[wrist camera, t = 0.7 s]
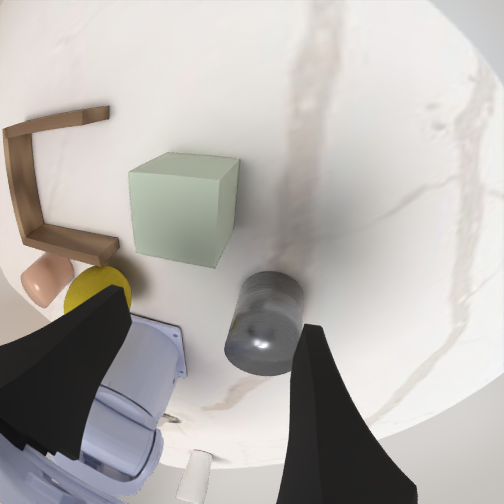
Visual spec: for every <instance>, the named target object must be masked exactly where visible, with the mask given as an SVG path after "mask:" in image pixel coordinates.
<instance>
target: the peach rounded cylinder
mask: <svg viewBox="0 0 504 504" xmlns="http://www.w3.org/2000/svg"><path fill="white" fill-rule="evenodd" d="M73 278H74V269H73V266H72V264H71V262H70V260H69V258H66V257H62V256H59V255H56V254H52V253H49V252H45V253H44V254H43V255H42V256H41V257H40V258H39V259H37V260H36V261H35V262H34V263H33V264H32V265H31V266H30V267H29V268H28V269H26V270H25V271H24V272H23V273H22V274H21V283H22V285H23V288H24V290H25V291H26V293H27V294H28V296H29V297H30V298H31V299H32V301H33V302H35V303H36V304H37V305H38V306H40V307H42V308H47V307H48V306H49V304H50V303H51V302H52V301H53V300H54V299H55V298H56V296H57V295H58V294H59V293H60V292H61V291H62V290H63V289H64V288H65V287H66V286H67V284H68V283H69V282H70V281H71V280H72V279H73Z"/></svg>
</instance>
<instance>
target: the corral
mask: <svg viewBox="0 0 504 504" xmlns="http://www.w3.org/2000/svg"><path fill="white" fill-rule="evenodd" d="M106 119H109V106H105V107H97V108H89V109H83V110H77V111H71V112H65V113H60V114H55V115H50V116H46V117H42V118H37V119H33V120H29V121H26V122H22V123H19V124H16V125H13V126H10V127H7V128H4V129H3V144H4V154H5V163H6V170H7V177H8V183H9V189H10V194H11V199H12V204H13V208H14V213H15V217H16V221H17V225H18V228H19V232H20V235H21V239H22V242H23V245H26V246H29V247H32V248H36V249H39V250H42V251H45V252H49V253H52V254H56V255H59V256H62V257H66V258H69V259H73V260H77V261H80V262H84V263H87V264H91V265H95V266H99V267H101V266H102V265H103V264H104V263H105V262H106V261H107V260H108V259H109V258H110V257H111V256H112V255H113V254H114V253H115V252H116V251H117V250H118V249H119V242H118V238H115V237H110V236H105V235H100V234H95V233H89V232H84V231H79V230H74V229H69V228H64V227H59V226H54V225H49V224H44V221H43V217H42V212H41V207H40V202H39V197H38V192H37V186H36V179H35V172H34V164H33V155H32V143H31V133H34V132H39V131H45V130H51V129H57V128H64V127H72V126H80V125H85V124H89V123H93V122H97V121H102V120H106Z"/></svg>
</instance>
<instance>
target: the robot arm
mask: <svg viewBox="0 0 504 504" xmlns="http://www.w3.org/2000/svg"><path fill="white" fill-rule="evenodd" d="M178 377H181V378H186V377H187V372H186V365H185V358H184V351H183V344H182V336H181V330H180V329H179V328H178V327H174V326H171V325H167V324H163V323H159V322H156V321H152V320H148V319H145V318H141V317H138V316H135V315H131V314H130V311H129V308H128V304H127V300H126V296H125V292H124V288H123V287H120V286H116V285H113V284H111V285H110V286H108V287H106V288H104V289H103V290H101V291H100V292H98V293H97V294H95V295H94V296H92V297H91V298H89V299H88V300H86V301H85V302H83V303H81V304H80V305H78V306H77V307H75V308H74V309H72V310H71V311H69V312H68V313H66V314H65V315H63V316H61V317H60V318H58V319H56V320H55V321H53V322H52V323H50V324H48V325H46V326H45V327H43V328H41V329H39V330H37V331H35V332H33V333H31V334H29V335H27V336H25V337H22V338H20V339H17V340H15V341H13V342H10V343H7V344H4V345H1V346H0V501H1V502H2V504H128V503H126V502H123V501H121V500H119V499H117V498H115V497H121V496H130V495H135V494H137V492H138V491H139V490H140V489H141V487H142V486H143V484H144V482H145V481H146V479H147V478H148V477H149V476H150V475H151V474H152V473H153V471H154V470H155V468H156V467H157V465H158V462H159V460H160V457H161V454H162V450H163V444H164V441H163V437H162V434H161V431H160V430H159V429H157V428H156V426H157V424H158V420H159V419H160V418H161V417H162V416H163V414H164V412H165V410H166V407H167V404H168V402H169V399H170V397H171V394H172V391H173V389H174V386H175V384H176V381H177V379H178ZM47 452H49V454H50V456H51V458H52V459H53V461H54V462H52V461H51V460H49V459H48V458H46V457H45V456H46V454H47ZM51 478H53V479H54V480H56V481H57V482H58V483H59V484H57V483H55V482H53V481H52V479H51ZM417 498H418V494H417V487H416V485H415V484H414V483H413V482H412V481H411V480H410V479H409V478H408V477H407V476H406V475H405V474H404V473H403V472H402V471H401V470H400V469H399V468H398V467H397V465H396V464H395V463H394V462H393V461H392V459H391V458H390V457H389V456H388V455H387V453H386V452H385V451H384V449H383V448H382V447H381V445H380V444H379V443H378V441H377V440H376V438H375V437H374V436H373V434H372V433H371V431H370V430H369V428H368V426H367V425H366V423H365V422H364V420H363V418H362V417H361V415H360V413H359V412H358V410H357V408H356V406H355V404H354V403H353V401H352V399H351V397H350V395H349V393H348V391H347V389H346V387H345V384H344V382H343V380H342V378H341V376H340V373H339V371H338V369H337V366H336V364H335V361H334V359H333V356H332V354H331V351H330V349H329V346H328V343H327V340H326V337H325V334H324V331H323V328H322V327H321V326H318V325H311V324H304V327H303V330H302V333H301V336H300V339H299V341H298V344H297V347H296V350H295V353H294V356H293V362H292V370H291V378H290V422H289V439H288V446H287V453H286V459H285V465H284V470H283V476H282V481H281V485H280V490H279V494H278V499H277V503H276V504H418V503H417V501H418V499H417Z"/></svg>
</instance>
